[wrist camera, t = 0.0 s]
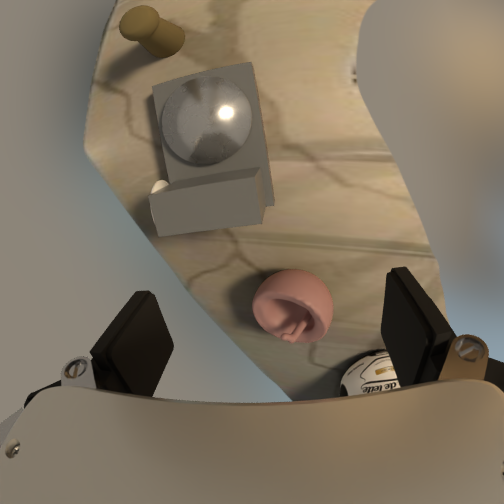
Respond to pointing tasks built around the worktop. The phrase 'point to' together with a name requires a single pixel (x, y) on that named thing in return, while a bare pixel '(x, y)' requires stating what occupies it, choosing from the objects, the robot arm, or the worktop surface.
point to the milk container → (369, 375)
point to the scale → (214, 171)
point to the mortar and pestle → (293, 306)
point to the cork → (152, 31)
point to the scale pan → (206, 120)
